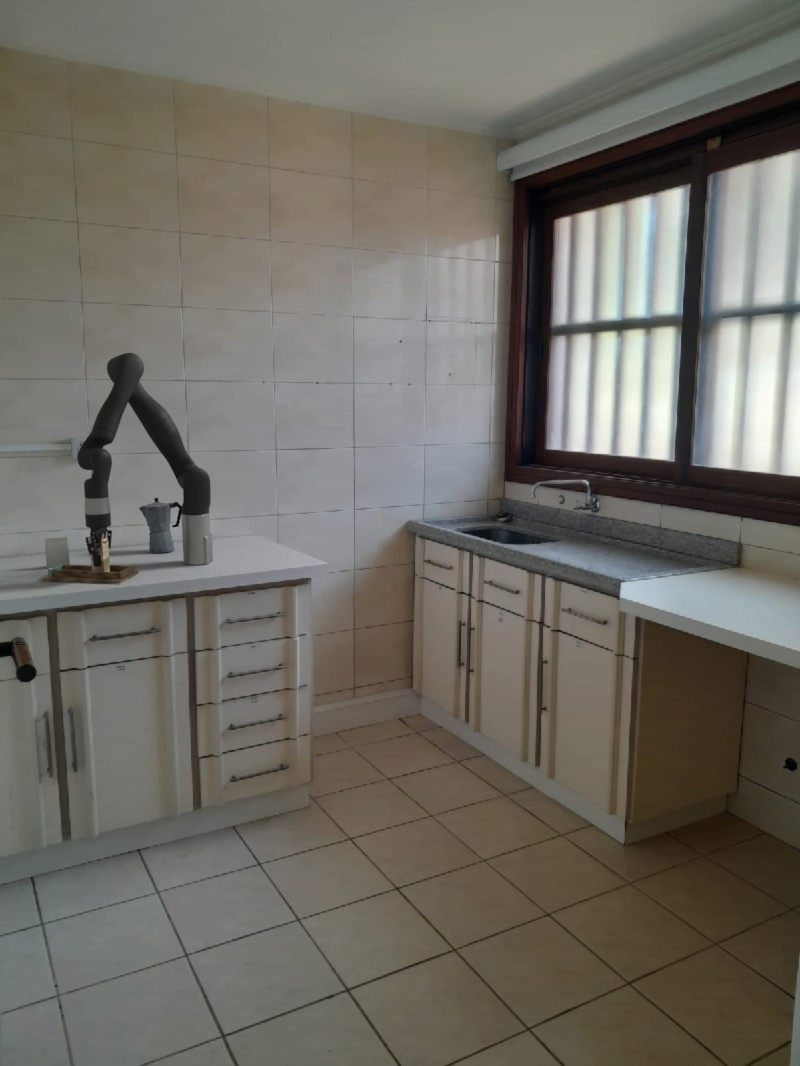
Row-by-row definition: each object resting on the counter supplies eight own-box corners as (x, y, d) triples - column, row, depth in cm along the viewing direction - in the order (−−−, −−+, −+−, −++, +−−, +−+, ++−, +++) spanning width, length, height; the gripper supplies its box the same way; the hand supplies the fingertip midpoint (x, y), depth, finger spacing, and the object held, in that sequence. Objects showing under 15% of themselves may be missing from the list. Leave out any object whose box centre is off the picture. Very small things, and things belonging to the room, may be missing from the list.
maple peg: (111, 571, 257) (109, 537, 255) (105, 575, 252) (102, 540, 250) (97, 571, 257) (95, 537, 255) (90, 574, 253) (88, 539, 251)
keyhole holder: (138, 573, 261) (138, 564, 261) (120, 583, 248) (119, 574, 247) (65, 571, 264) (64, 562, 263) (42, 581, 250) (41, 572, 249)
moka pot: (139, 550, 297) (136, 496, 293) (181, 547, 304) (179, 494, 300) (143, 555, 289) (140, 500, 285) (186, 551, 295) (184, 498, 291)
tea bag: (69, 567, 270) (67, 537, 268) (48, 569, 267) (45, 539, 265) (68, 564, 273) (66, 536, 271) (46, 567, 270) (44, 537, 268)
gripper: (98, 515, 244) (102, 570, 247) (118, 508, 258) (121, 560, 261) (75, 514, 245) (78, 569, 248) (96, 507, 258) (99, 559, 262)
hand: (100, 564), depth 254 cm, fingers closed on maple peg, 4 cm apart
